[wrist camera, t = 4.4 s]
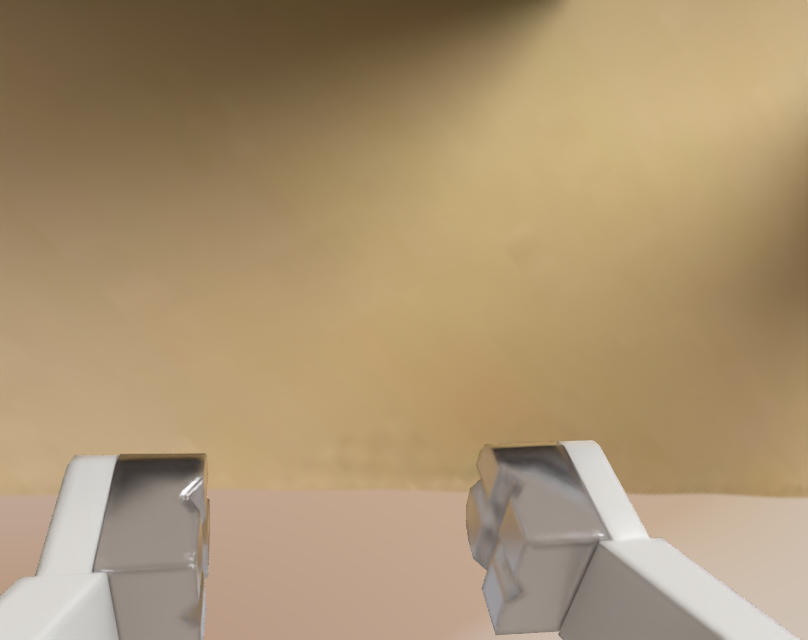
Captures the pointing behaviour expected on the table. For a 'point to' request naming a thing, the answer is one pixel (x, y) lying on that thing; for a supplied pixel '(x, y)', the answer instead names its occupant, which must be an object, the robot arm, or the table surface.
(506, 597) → the robot arm
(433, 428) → the table surface
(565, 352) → the table surface
